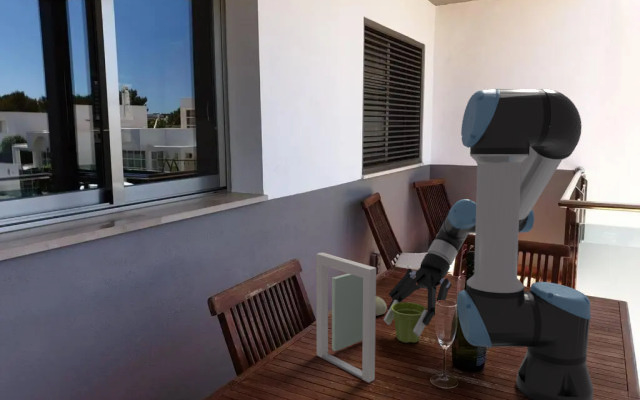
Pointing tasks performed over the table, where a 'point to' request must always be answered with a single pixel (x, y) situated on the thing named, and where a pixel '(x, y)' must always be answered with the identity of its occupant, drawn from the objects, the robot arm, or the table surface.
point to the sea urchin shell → (380, 306)
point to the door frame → (368, 312)
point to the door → (347, 311)
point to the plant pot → (407, 320)
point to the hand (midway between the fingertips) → (400, 328)
